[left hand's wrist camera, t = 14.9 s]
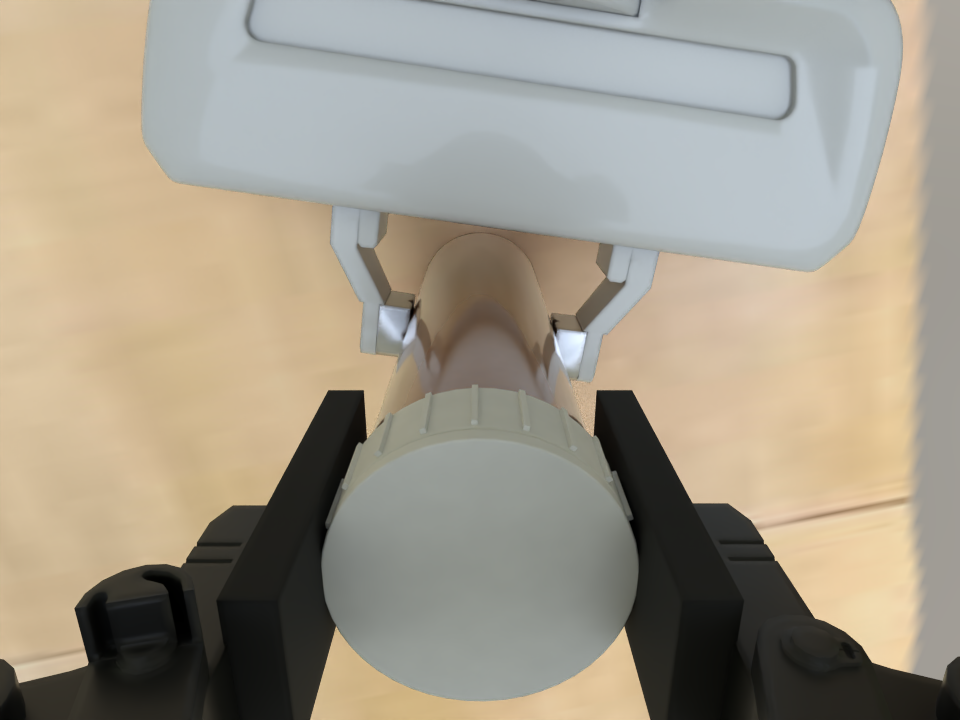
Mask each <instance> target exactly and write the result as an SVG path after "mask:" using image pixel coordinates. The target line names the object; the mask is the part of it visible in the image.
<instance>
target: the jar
mask: <svg viewBox="0 0 960 720" xmlns="http://www.w3.org/2000/svg"><path fill="white" fill-rule="evenodd" d="M472 385H478V388H496V389H502V390H509V391H515V392H519V389H520V390H524V391H525V393H526V395H529V396H532V397H534V398H537V399H539V400H542V401H544V402H546V403H549V404H551V405H552V406H554V407H556V408H557V409H559V410H560V409H561V408H562V407H563V408H565V409H566V410H567V412H568V416H570V417H571V418H572V419H573V420H575V421H576V422H577V423H579V424H580V425H581V426H582V427H583V428H584V429H585V431H586V432H587V430H586V427H585V424H584V421H583V418H582V415H581V412H580V409H579V406H578V403H577V400H576V397H575V394H574V391H573V388H572V385H571V382H570V379H569V376H568V372H567V369H566V366H565V363H564V360H563V357H562V354H561V351H560V348H559V345H558V342H557V339H556V336H555V333H554V330H553V327H552V324H551V321H550V318H549V315H548V312H547V308H546V305H545V302H544V299H543V296H542V293H541V290H540V287H539V284H538V281H537V278H536V275H535V272H534V269H533V266H532V264H531V263H530V261H529V259H528V258H527V256H526V255H525V253H524V252H523V251H522V250H521V249H520V248H519V247H518V246H516V245H515V244H514V243H512V242H511V241H509V240H508V239H505V238H503V237H501V236H498V235H494V234H489V233H471V234H466V235H463V236H460V237H457V238H455V239H453V240H451V241H450V242H448V243H447V244H445V245H444V246H443V247H442V248H441V249H440V250H439V251H438V252H437V253H436V254H435V256H434V257H433V258H432V260H431V262H430V263H429V266H428V268H427V271H426V274H425V277H424V280H423V283H422V286H421V289H420V292H419V295H418V298H417V301H416V304H415V307H414V310H413V313H412V316H411V319H410V322H409V325H408V328H407V331H406V334H405V337H404V340H403V343H402V346H401V349H400V352H399V355H398V358H397V361H396V364H395V367H394V370H393V373H392V376H391V379H390V383H389V386H388V389H387V392H386V395H385V398H384V401H383V404H382V407H381V410H380V413H379V416H378V419H377V422H376V425H375V428H374V430H375V429H376V428H378V427H379V426H380V425H381V424H382V423H383V422H384V419H385V416H386V415H387V414H388V413H389V412H390V413H391V414H392V415H393V414H395V413H396V412H398V411H399V410H401V409H402V408H404V407H406V406H408V405H410V404H412V403H414V402H416V401H418V400H420V399H423V398H425V394H427V393H430V392H431V393H432V395H435V394H437V393H442V392H447V391H451V390H456V389H467V388H472ZM373 432H374V431H373Z"/></svg>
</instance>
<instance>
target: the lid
mask: <svg viewBox="0 0 960 720" xmlns="http://www.w3.org/2000/svg"><path fill="white" fill-rule="evenodd" d="M633 519H634V518H633V515H632V512H631V510H630V507H629V504H628V502H627V499H626V496H625V494H624V491H623V488H622V485H621V483H620V480H619V477H618V475H617V472H616V471H613V472H611V470H610V467H609V464H608V462H607V460H606V458H605V456H604V453H603V450H602V447H601V444H600V442H599V439H598V438H597V437H596V436H594V437H591V436H590V435H589V434H588V433H587V432H586V431H585V429H584V428H583V427H582V426H581V425H580V424H579V423H577V422H576V421H575V420H573V419H572V418H571V417H570V416H568V412H567V410H566V409H565V408H563V407H562V408H561V409H560V410H559V409H557V408H556V407H554V406H552V405H551V404H549V403H546V402H544V401H542V400H539V399H537V398H534V397H532V396H529V395H526V393H525V391H524V390H520V389H519V392H515V391H509V390H502V389H496V388H478V385H472V388H467V389H456V390H451V391H447V392H442V393H437V394H435V395H432V393H431V392H430V393H427V394H425V398H423V399H420V400H418V401H416V402H414V403H412V404H410V405H408V406H406V407H404V408H402V409H401V410H399V411H398V412H396V413H395V414H393V415H392V414H391V413H390V412H389V413H388V414H387V415H386V416H385V419H384V422H383V423H382V424H381V425H380V426H379V427H378V428H376V429H375V430H374V432H373V433H372V434H371V435H370V436H369V437H368V439H367V440H366V441H365V442H364V444H362V443H360V442H359V443H358V445H357V446H356V449H355V452H354V454H353V457H352V460H351V463H350V465H349V468H348V471H347V473H346V476H345V479H342V480H341V482H340V485H339V488H338V490H337V493H336V496H335V498H334V501H333V504H332V506H331V509H330V512H329V514H328V517H327V520H326V522H325V525H326V528H327V529H328V530H327V533H326V537H325V541H324V545H323V549H322V557H321V567H322V578H323V588H324V597H325V602H326V604H327V607H328V609H329V612H330V615H331V617H332V619H333V621H334V623H335V624H336V626H337V628H338V630H339V631H340V633H341V635H342V636H343V637H344V638H345V640H346V641H347V642H348V644H349V645H350V646H351V647H352V648H353V649H354V650H355V651H356V652H357V653H358V654H359V655H360V656H361V657H362V658H363V659H364V660H365V661H366V662H367V663H369V664H370V665H371V666H373V667H374V668H375V669H376V670H378V671H379V672H381V673H383V674H384V675H386V676H387V677H389V678H391V679H392V680H394V681H396V682H398V683H401V684H403V685H405V686H407V687H409V688H412V689H415V690H418V691H421V692H423V693H426V694H430V695H434V696H439V697H443V698H448V699H456V700H464V701H495V700H506V699H511V698H517V697H523V696H526V695H530V694H533V693H537V692H540V691H543V690H546V689H548V688H551V687H553V686H556V685H558V684H560V683H562V682H564V681H566V680H568V679H569V678H571V677H573V676H575V675H576V674H578V673H579V672H581V671H582V670H584V669H585V668H587V667H588V666H589V665H591V664H592V663H593V662H594V661H595V660H596V659H597V658H599V657H600V656H601V655H602V654H603V653H604V652H605V651H606V650H607V648H608V647H609V646H610V645H611V644H612V643H613V642H614V640H615V639H616V638H617V636H618V635H619V633H620V631H621V630H622V628H623V627H624V625H625V623H626V621H627V619H628V617H629V615H630V613H631V611H632V608H633V604H634V601H635V598H636V592H637V583H638V572H639V555H638V550H637V544H636V540H635V537H634V534H633V531H632V528H631V526H630V523H629V521H630V520H633Z"/></svg>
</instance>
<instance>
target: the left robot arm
mask: <svg viewBox="0 0 960 720" xmlns="http://www.w3.org/2000/svg"><path fill="white" fill-rule="evenodd" d="M594 436H596V437H597V438H598V439H599V442H600V444H601V447H602V450H603V453H604V456H605V458H606V460H607V462H608V464H609V467H610V470H611V472H613V471H616V472H617V475H618V477H619V480H620V483H621V485H622V488H623V491H624V494H625V496H626V499H627V502H628V504H629V507H630V510H631V512H632V515H633V518H634V519H633V520H630V521H629V523H630V526H631V528H632V531H633V534H634V537H635V540H636V544H637V550H638V555H639V572H638V583H637V592H636V598H635V601H634V604H633V608H632V611H631V613H630V615H629V617H628V619H627V621H626V623H625V625H624V626H625V630H626V633H627V637H628V641H629V644H630V648H631V651H632V655H633V659H634V662H635V666H636V669H637V673H638V677H639V680H640V684H641V687H642V691H643V695H644V698H645V702H646V705H647V709H648V713H649V716H650V720H960V657H957V658H956V659H955V660H953V661H952V662H951V663H950V664H949V665H948V666H947V669H946V672H945V675H944V678H943V681H940V680H936V679H932V678H928V677H924V676H920V675H915V674H911V673H907V672H903V671H898V670H894V669H890V668H887V667H884V666H881V665H878V664H874V663H872V662H871V660H870V659H869V657H868V656H867V654H866V653H865V651H864V649H863V648H862V646H861V645H860V644H858V643H857V642H856V641H855V640H854V639H853V638H851V637H850V636H849V635H848V634H847V633H846V632H844V631H842V630H840V629H838V628H836V627H834V626H832V625H831V624H829V623H827V622H825V621H821V620H818V619H815V618H814V616H813V615H812V613H811V612H810V610H809V609H808V607H807V606H806V604H805V603H804V601H803V600H802V598H801V597H800V595H799V594H798V592H797V590H796V589H795V587H794V586H793V584H792V583H791V581H790V580H789V578H788V577H787V575H786V574H785V572H784V571H783V569H782V568H781V566H780V564H779V563H778V561H775V559H774V555H773V554H772V552H771V551H770V549H769V548H768V546H767V545H766V544H764V540H763V538H762V537H761V535H760V534H759V532H758V531H757V529H756V528H755V526H754V525H753V523H752V522H751V520H749V519H748V518H747V517H745V516H744V515H743V514H741V513H740V512H739V511H737V510H736V509H735V508H733V507H732V506H730V505H729V504H693V503H692V502H691V500H690V498H689V496H688V494H687V492H686V490H685V489H684V487H683V485H682V483H681V481H680V479H679V477H678V475H677V474H676V472H675V470H674V468H673V466H672V464H671V462H670V460H669V459H668V457H667V455H666V453H665V451H664V449H663V447H662V446H661V444H660V442H659V440H658V438H657V436H656V434H655V432H654V431H653V429H652V427H651V425H650V423H649V421H648V419H647V417H646V416H645V414H644V412H643V410H642V408H641V406H640V404H639V403H638V401H637V399H636V397H635V395H634V393H633V391H632V390H597V394H596V409H595V424H594ZM366 440H367V433H366V418H365V403H364V390H328V392H327V394H326V396H325V398H324V400H323V401H322V403H321V405H320V407H319V409H318V411H317V413H316V415H315V416H314V418H313V420H312V422H311V424H310V426H309V428H308V430H307V431H306V433H305V435H304V437H303V439H302V441H301V443H300V445H299V446H298V448H297V450H296V452H295V454H294V456H293V458H292V459H291V461H290V463H289V465H288V467H287V469H286V471H285V473H284V474H283V476H282V478H281V480H280V482H279V484H278V486H277V488H276V489H275V491H274V493H273V495H272V497H271V499H270V501H269V502H268V504H267V506H232V507H230V508H229V509H228V510H226V511H225V512H224V513H222V514H221V515H220V516H218V517H217V518H216V519H214V520H213V521H212V522H210V523H209V525H208V527H207V528H206V530H205V531H204V533H203V534H202V536H201V537H200V539H199V540H198V542H197V547H194V548H193V550H192V551H191V553H190V554H189V556H188V557H187V559H186V563H183V565H182V567H181V568H179V567H175V566H171V565H167V564H159V565H144V566H140V567H136V568H132V569H128V570H124V571H122V572H120V573H118V574H115V575H113V576H111V577H109V578H107V579H105V580H103V581H101V582H100V583H99V584H97V585H96V586H95V587H93V588H92V589H91V590H89V591H88V592H87V593H85V595H84V596H83V597H82V599H81V600H80V601H79V603H78V604H77V606H76V607H75V612H76V616H77V620H78V624H79V627H80V631H81V635H82V639H83V642H84V646H85V650H86V654H87V658H88V661H89V663H88V666H85V667H82V668H79V669H76V670H72V671H69V672H65V673H61V674H57V675H52V676H48V677H44V678H40V679H35V680H31V681H27V682H23V683H18V679H17V676H16V673H15V670H14V668H13V667H12V666H11V665H9V664H8V663H7V662H6V661H5V660H3V659H0V720H310V718H311V714H312V711H313V707H314V703H315V700H316V696H317V693H318V689H319V685H320V682H321V678H322V674H323V671H324V667H325V664H326V660H327V656H328V653H329V649H330V646H331V642H332V638H333V635H334V631H335V628H336V624H335V623H334V621H333V619H332V617H331V615H330V612H329V609H328V607H327V604H326V602H325V597H324V588H323V578H322V567H321V557H322V549H323V545H324V541H325V537H326V533H327V530H328V529H327V528H326V525H325V522H326V520H327V517H328V514H329V512H330V509H331V506H332V504H333V501H334V498H335V496H336V493H337V490H338V488H339V485H340V482H341V480H342V479H345V476H346V473H347V471H348V468H349V465H350V463H351V460H352V457H353V454H354V452H355V449H356V446H357V445H358V443H359V442H360V443H362V444H364V442H365V441H366Z"/></svg>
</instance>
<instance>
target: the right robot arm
mask: <svg viewBox="0 0 960 720" xmlns="http://www.w3.org/2000/svg"><path fill="white" fill-rule="evenodd" d="M902 56H903V38H902V30H901V24H900V20H899V17H898V14H897V11H896V9H895V7H894V5H893V3H892V2H891V0H150V4H149V12H148V20H147V29H146V39H145V50H144V63H143V81H142V112H141V119H142V135H143V140H144V143H145V145H146V147H147V148H148V150H149V151H150V153H151V154H152V156H153V157H154V158H155V160H156V161H157V163H158V164H159V166H160V167H161V168H162V170H163V171H164V172H165V174H166V175H167V176H168V177H169V178H170V179H171V180H172V181H174V182H176V183H179V184H186V185H192V186H199V187H206V188H213V189H220V190H228V191H235V192H242V193H249V194H256V195H263V196H270V197H277V198H284V199H291V200H298V201H306V202H313V203H320V204H327V205H333V206H332V222H331V239H330V244H331V246H332V248H333V250H334V252H335V254H336V256H337V258H338V260H339V262H340V264H341V266H342V268H343V270H344V272H345V274H346V276H347V278H348V280H349V282H350V284H351V286H352V288H353V290H354V292H355V294H356V296H357V298H358V300H359V301H360V302H363V314H362V327H361V339H360V351H361V352H362V353H367V354H373V355H376V354H378V355H386V356H395V357H398V355H399V352H400V349H401V346H402V343H403V340H404V337H405V334H406V331H407V328H408V325H409V322H410V319H411V316H412V313H413V310H414V304H415V294H409V293H403V292H397V291H391V290H392V289H391V287H390V285H389V283H388V280H387V278H386V276H385V273H384V271H383V269H382V267H381V264H380V262H379V260H378V257H377V255H376V253H375V251H374V247H376V246H377V245H378V243H379V242H380V241H381V240H382V238H383V237H384V236H385V234H386V232H387V222H388V213H391V214H398V215H405V216H412V217H419V218H426V219H433V220H440V221H447V222H454V223H461V224H469V225H476V226H483V227H490V228H497V229H504V230H511V231H518V232H525V233H532V234H539V235H546V236H554V237H561V238H568V239H575V240H582V241H589V242H596V243H600V244H599V249H598V255H597V260H596V263H597V265H598V266H599V268H600V269H601V270H602V271H603V273H604V274H605V275H606V278H605V279H604V280H603V282H602V283H601V284H600V285H599V286H598V288H597V289H596V290H595V291H594V292H593V294H592V295H591V296H590V297H589V298H588V300H587V301H586V302H585V303H584V304H583V306H582V307H581V308H580V309H579V310H578V312H577V313H576V316H575V315H566V314H557V313H552V314H551V319H550V321H551V324H552V327H553V330H554V333H555V336H556V339H557V342H558V345H559V348H560V351H561V354H562V357H563V360H564V363H565V366H566V369H567V372H568V376H569V379H570V380H573V381H581V382H589V383H590V382H591V381H592V379H593V377H594V374H595V370H596V365H597V360H598V356H599V351H600V346H601V342H602V337H603V334H604V335H607V334H608V333H609V332H610V331H611V330H612V329H613V328H614V327H615V326H616V325H617V324H618V323H619V322H620V320H621V319H622V318H623V317H624V316H625V315H626V314H627V313H628V312H629V311H630V310H631V309H632V308H633V307H634V306H635V304H636V303H637V302H638V301H639V300H640V299H641V298H642V297H643V296H644V295H645V294H646V293H647V292H648V291H649V290H650V288H651V285H652V281H653V277H654V272H655V268H656V264H657V260H658V256H659V252H667V253H674V254H681V255H688V256H695V257H702V258H710V259H717V260H724V261H731V262H738V263H745V264H752V265H759V266H766V267H773V268H780V269H788V270H795V271H802V272H813V271H816V270H818V269H819V268H821V267H822V266H824V265H825V264H826V263H828V262H829V261H830V260H831V259H832V258H834V257H835V256H836V255H837V254H838V253H840V252H841V251H842V250H843V249H844V248H845V247H846V246H848V245H849V244H850V242H851V241H852V240H853V238H854V236H855V234H856V232H857V230H858V228H859V226H860V223H861V221H862V218H863V215H864V213H865V210H866V207H867V204H868V201H869V198H870V194H871V191H872V188H873V185H874V181H875V178H876V175H877V172H878V168H879V164H880V161H881V157H882V154H883V150H884V146H885V142H886V138H887V134H888V130H889V126H890V122H891V118H892V113H893V109H894V104H895V100H896V95H897V90H898V85H899V80H900V74H901V67H902Z"/></svg>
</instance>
